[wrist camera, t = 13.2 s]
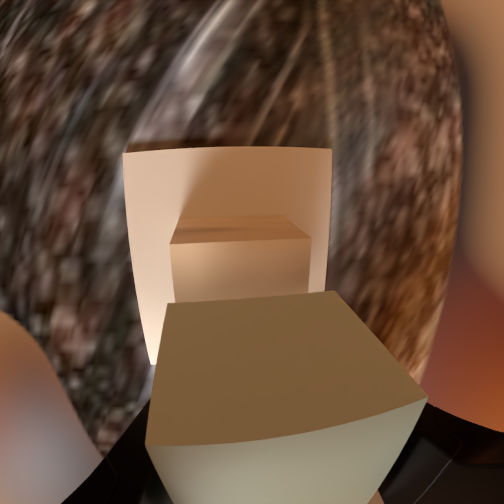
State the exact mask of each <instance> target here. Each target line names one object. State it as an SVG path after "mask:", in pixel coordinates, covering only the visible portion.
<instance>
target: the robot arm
mask: <svg viewBox="0 0 504 504" xmlns="http://www.w3.org/2000/svg"><path fill="white" fill-rule="evenodd" d="M150 401H151V398H150V400H149V401H148V402H147V403H146V405H145V406H144V407H143V409H142V410H141V411H140V413H139V414H138V415H137V416H136V418H135V419H134V420H133V422H132V423H131V424H130V425H129V427H128V428H127V429H126V431H125V432H124V433H123V434H122V436H121V437H120V438H119V440H118V441H117V442H116V443H115V445H114V446H113V447H112V449H111V450H110V451H109V452H108V454H107V457H104V459H103V460H102V461H101V463H100V464H99V465H98V466H97V468H96V469H95V470H94V471H93V472H92V473H91V475H90V476H89V477H88V478H87V479H86V480H85V481H84V482H83V483H82V484H81V485H80V486H79V487H78V488H77V489H76V490H75V491H74V492H73V493H72V494H71V495H70V496H69V497H68V498H66V499H65V500H64V501H63V502H62V503H61V504H174V503H173V502H172V500H171V498H170V496H169V494H168V492H167V490H166V489H165V487H164V485H163V483H162V481H161V479H160V477H159V475H158V473H157V471H156V469H155V467H154V464H153V462H152V460H151V458H150V456H149V454H148V451H147V449H146V447H145V440H146V431H147V423H148V415H149V408H150ZM378 492H379V494H380V496H381V498H382V500H383V502H384V504H504V432H499V431H495V430H492V429H489V428H486V427H483V426H481V425H478V424H475V423H472V422H469V421H466V420H464V419H461V418H459V417H456V416H454V415H452V414H450V413H447V412H445V411H443V410H441V409H439V408H437V407H434V406H433V405H431V404H429V403H427V402H426V404H425V406H424V408H423V410H422V412H421V414H420V416H419V418H418V420H417V422H416V424H415V426H414V428H413V430H412V432H411V434H410V436H409V438H408V440H407V442H406V443H405V445H404V447H403V449H402V451H401V452H400V454H399V456H398V458H397V459H396V461H395V463H394V464H393V466H392V468H391V469H390V471H389V472H388V474H387V476H386V477H385V479H384V480H383V482H382V483H381V485H380V486H379V488H378Z"/></svg>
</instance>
